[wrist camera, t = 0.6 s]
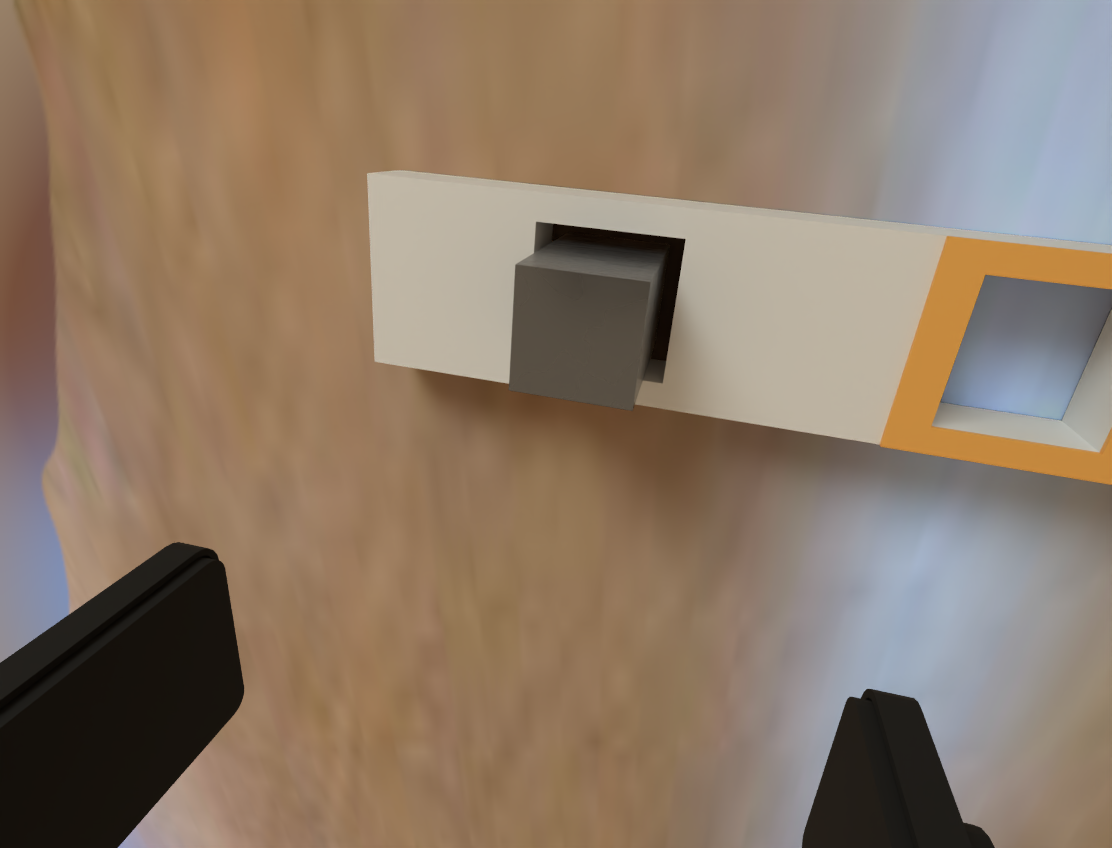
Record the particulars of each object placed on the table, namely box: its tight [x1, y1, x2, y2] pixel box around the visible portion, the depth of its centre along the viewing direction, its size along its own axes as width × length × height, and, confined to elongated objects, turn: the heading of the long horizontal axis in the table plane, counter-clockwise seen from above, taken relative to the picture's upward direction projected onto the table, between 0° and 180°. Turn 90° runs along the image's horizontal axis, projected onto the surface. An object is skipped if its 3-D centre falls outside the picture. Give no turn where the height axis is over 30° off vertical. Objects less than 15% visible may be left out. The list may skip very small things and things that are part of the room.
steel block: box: [509, 232, 670, 411], centre depth 25 cm, size 4×4×8 cm
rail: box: [367, 170, 1112, 485], centre depth 26 cm, size 8×36×3 cm, turn 85°
